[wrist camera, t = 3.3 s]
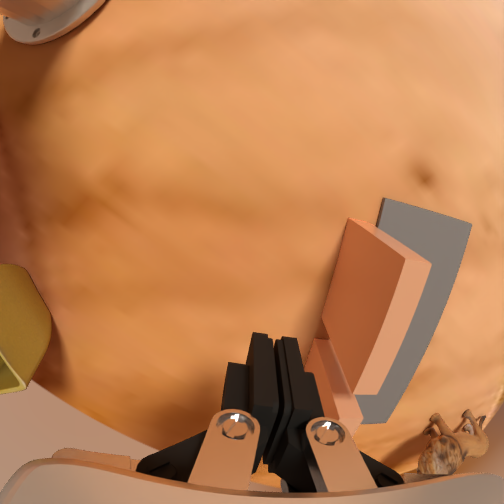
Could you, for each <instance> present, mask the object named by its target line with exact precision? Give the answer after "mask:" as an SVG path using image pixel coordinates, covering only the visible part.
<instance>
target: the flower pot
mask: <svg viewBox="0 0 504 504" xmlns="http://www.w3.org/2000/svg"><path fill="white" fill-rule="evenodd" d="M51 332H52V322H51V314H50V312H49V310H48V308H47V307H46V305H45V303H44V302H43V300H42V298H41V296H40V295H39V293H38V291H37V289H36V287H35V285H34V284H33V282H32V280H31V278H30V276H29V274H28V272H27V271H26V269H24V268H22V267H20V266H17V265H13V264H1V265H0V394H6V393H12V392H17V391H22V390H25V389H26V388H27V386H28V384H29V383H30V381H31V379H32V377H33V375H34V373H35V371H36V370H37V368H38V366H39V364H40V362H41V360H42V358H43V357H44V355H45V353H46V351H47V348H48V346H49V343H50V338H51Z"/></svg>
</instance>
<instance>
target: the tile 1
mask: <svg viewBox="0 0 504 504" xmlns="http://www.w3.org/2000/svg"><path fill="white" fill-rule="evenodd" d="M304 372H312V373H313V374H314V376H315V380H316V384H317V388H318V392H319V396H320V400H321V403H322V407H323V411H324V415H325V417H329V418H332V419H335V420H337V421H339V422H341V423H342V424H344V425H345V426H346V428H347V429H348V430H349V432H350V434H351V436H352V437H353V435H354V434H355V432H356V430H357V429H358V427H359V425H360V423H361V422H362V420H363V415H362V413H361V410H360V407H359V405H358V402H357V400H356V397H355V395H354V394H352V392H351V390H350V387H349V385H348V382H347V380H346V377H345V375H344V372H343V370H342V367H341V365H340V362H339V360H338V357H337V355H336V352H335V350H334V347H333V345H332V342H331V340H327V339H317V338H314V340H313V344H312V347H311V350H310V353H309V356H308V358H307V361H306V364H305V367H304Z"/></svg>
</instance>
